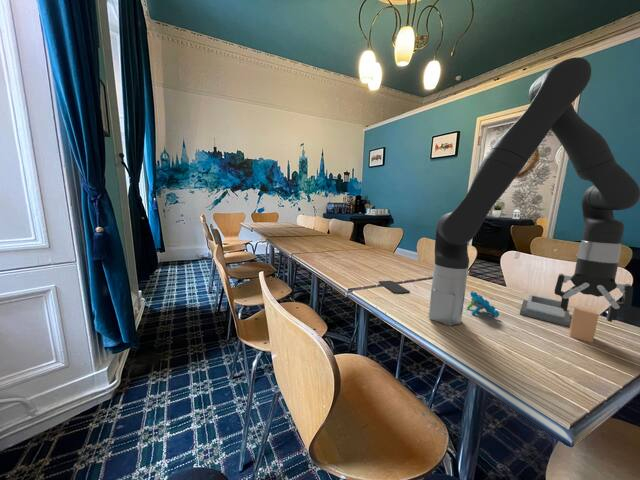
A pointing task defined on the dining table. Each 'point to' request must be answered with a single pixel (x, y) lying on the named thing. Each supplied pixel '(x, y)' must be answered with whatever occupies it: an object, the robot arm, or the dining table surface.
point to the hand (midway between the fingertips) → (586, 315)
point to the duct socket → (545, 310)
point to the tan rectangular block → (583, 323)
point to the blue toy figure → (481, 304)
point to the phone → (394, 287)
